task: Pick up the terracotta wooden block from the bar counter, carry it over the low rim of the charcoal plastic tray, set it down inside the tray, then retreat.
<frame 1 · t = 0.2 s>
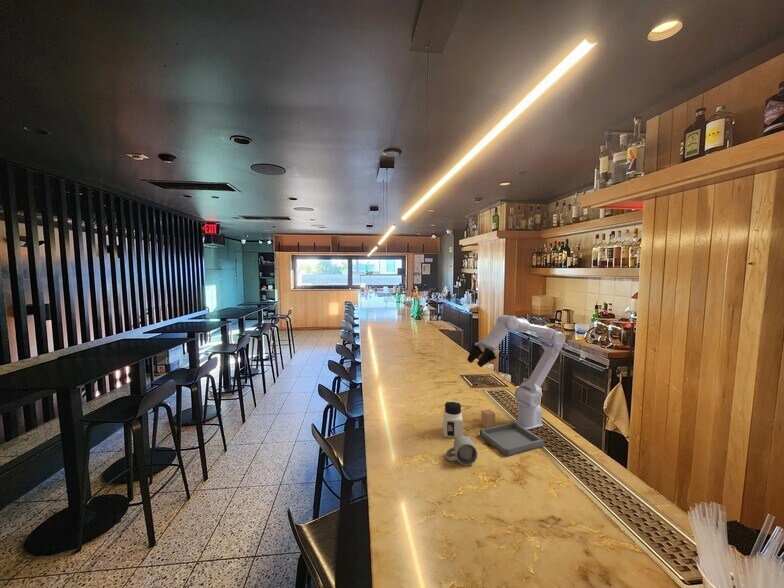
hand: (473, 363, 126), 31 cm above the bar counter, tool tilted 45°, fingers open, 7 cm apart
ceramic mug: (461, 459, 113), on the bar counter
charcoal tray: (510, 440, 124), on the bar counter
terracotta block: (488, 425, 137), on the bar counter
container: (452, 433, 131), on the bar counter
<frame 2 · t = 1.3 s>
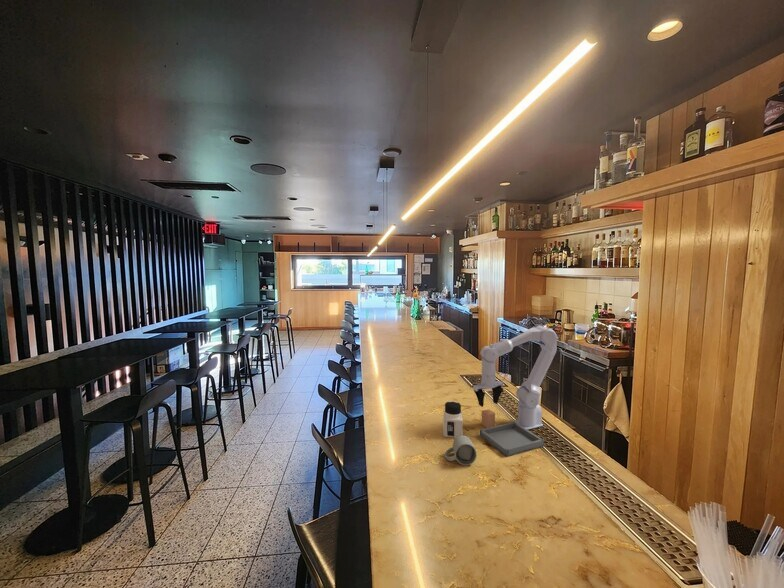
hand: (488, 404, 137), 9 cm above the bar counter, tool pointing down, fingers open, 7 cm apart
nothing on the bar counter moved.
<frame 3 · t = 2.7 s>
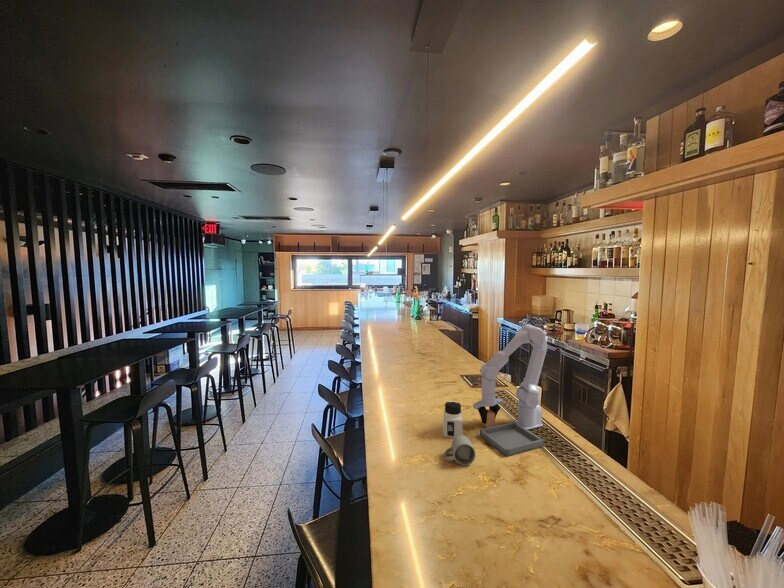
hand: (488, 421, 137), 1 cm above the bar counter, tool pointing down, fingers closed on terracotta block, 4 cm apart
terracotta block: (488, 425, 137), on the bar counter, touching gripper
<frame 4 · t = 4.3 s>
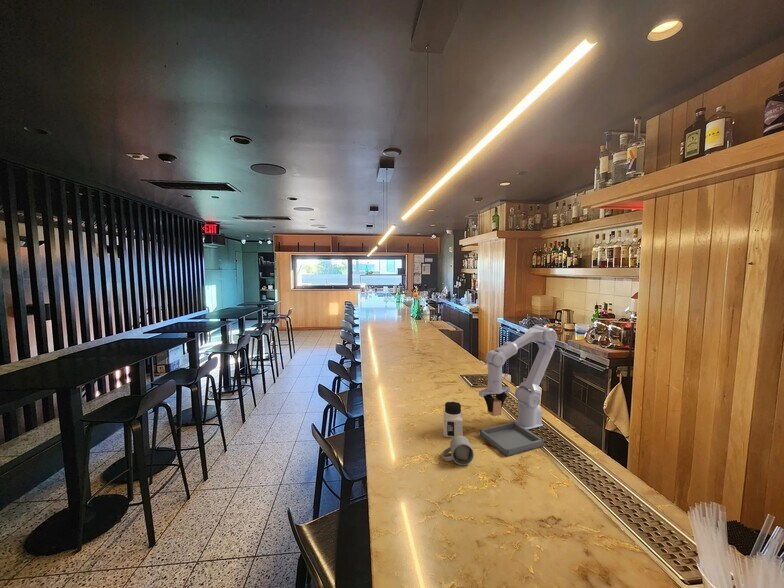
hand: (494, 410, 133), 8 cm above the bar counter, tool pointing down, fingers closed on terracotta block, 4 cm apart
terracotta block: (494, 413, 133), point 7 cm above the bar counter, touching gripper
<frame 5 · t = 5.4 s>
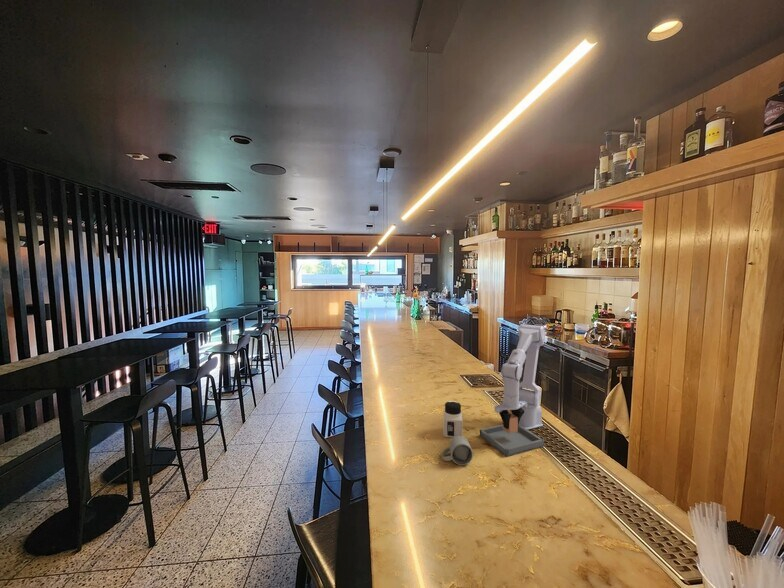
hand: (510, 427, 124), 6 cm above the bar counter, tool pointing down, fingers closed on terracotta block, 4 cm apart
terracotta block: (510, 430, 124), point 4 cm above the bar counter, touching gripper
when the fingers open (4 cm above the bar counter, at t = 6.1 s): terracotta block drops 2 cm, resting on charcoal tray.
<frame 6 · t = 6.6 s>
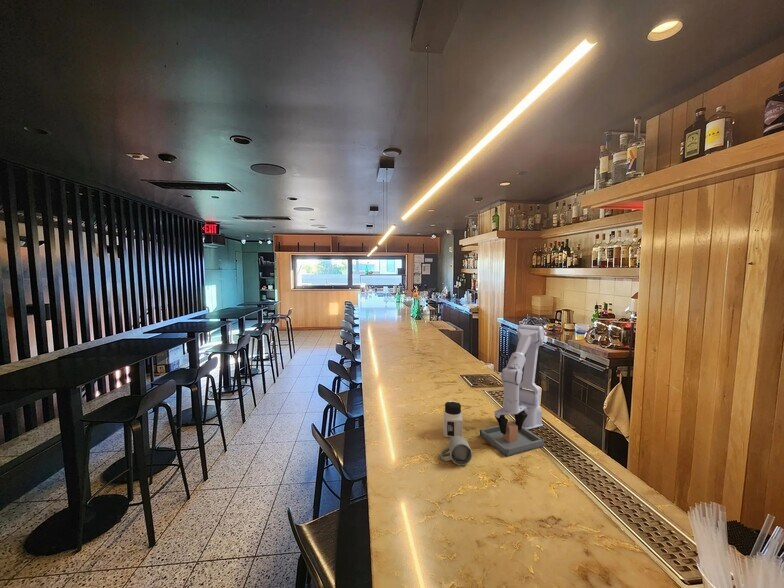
hand: (510, 431, 124), 4 cm above the bar counter, tool pointing down, fingers open, 7 cm apart
terracotta block: (510, 438, 125), point 1 cm above the bar counter, touching charcoal tray
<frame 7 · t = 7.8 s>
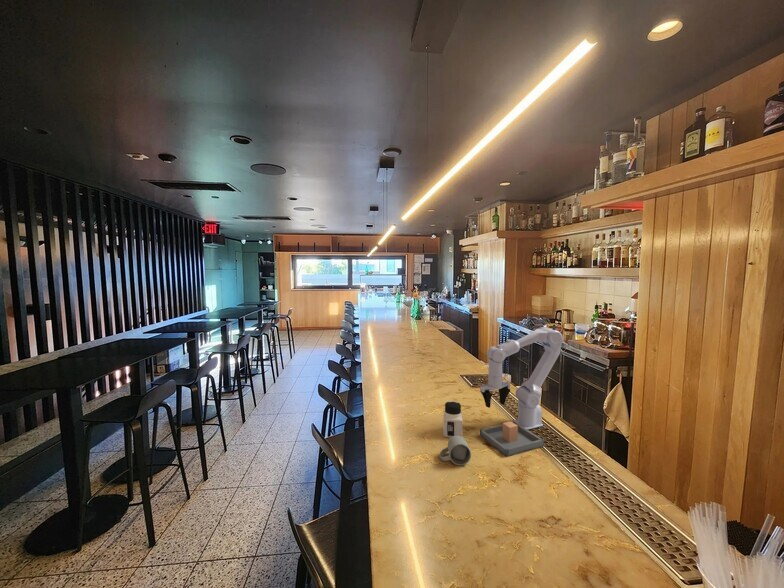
hand: (495, 405, 135), 9 cm above the bar counter, tool pointing down, fingers open, 7 cm apart
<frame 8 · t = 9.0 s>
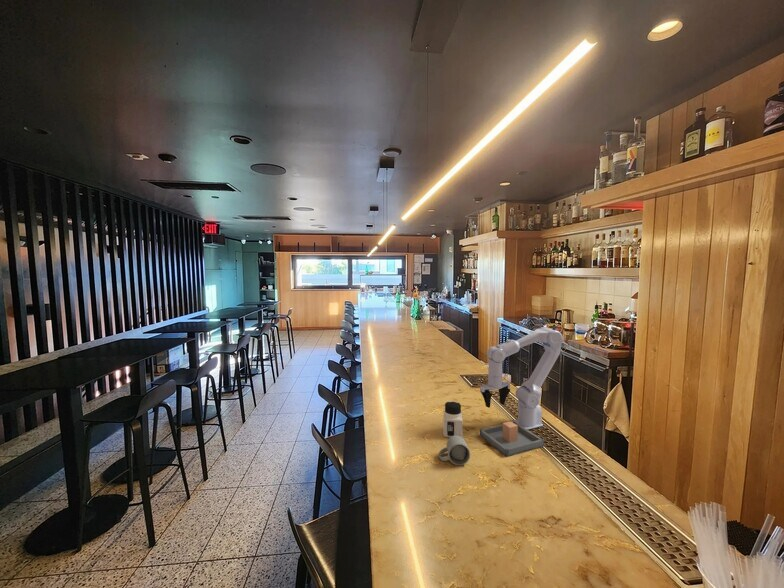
hand: (495, 405, 135), 9 cm above the bar counter, tool pointing down, fingers open, 7 cm apart
at the end: terracotta block inside the target area on the charcoal tray (0.4 cm from its centre), point 0.6 cm above the charcoal tray's base; terracotta block tilted 0°; the gripper is holding nothing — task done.
